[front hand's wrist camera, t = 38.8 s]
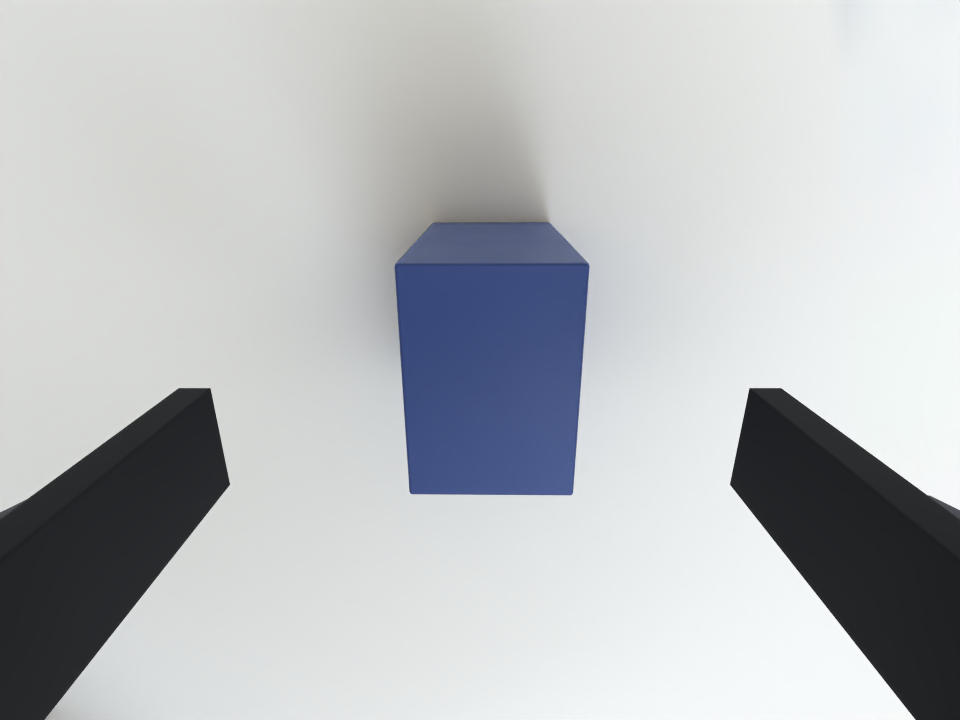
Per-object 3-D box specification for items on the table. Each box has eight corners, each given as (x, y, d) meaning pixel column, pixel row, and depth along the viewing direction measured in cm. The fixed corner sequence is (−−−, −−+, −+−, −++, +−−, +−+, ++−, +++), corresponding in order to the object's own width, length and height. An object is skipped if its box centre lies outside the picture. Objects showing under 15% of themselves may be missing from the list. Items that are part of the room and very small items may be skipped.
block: (543, 376, 25) (573, 496, 16) (437, 376, 25) (409, 495, 16) (550, 222, 22) (590, 263, 14) (432, 222, 23) (393, 263, 14)
